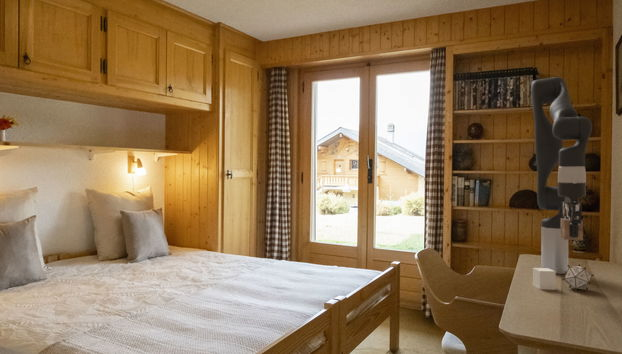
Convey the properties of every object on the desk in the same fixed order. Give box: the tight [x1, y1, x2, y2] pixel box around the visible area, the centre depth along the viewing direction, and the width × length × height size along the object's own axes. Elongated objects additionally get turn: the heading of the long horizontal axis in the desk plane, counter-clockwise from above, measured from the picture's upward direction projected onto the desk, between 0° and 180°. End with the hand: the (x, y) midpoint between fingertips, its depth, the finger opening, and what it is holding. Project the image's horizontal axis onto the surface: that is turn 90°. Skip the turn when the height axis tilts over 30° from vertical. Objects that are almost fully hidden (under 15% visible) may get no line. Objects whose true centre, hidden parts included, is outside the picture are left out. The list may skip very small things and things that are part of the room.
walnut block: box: [561, 218, 584, 241], centre depth 135 cm, size 5×5×6 cm
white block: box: [532, 267, 557, 291], centre depth 144 cm, size 5×5×6 cm
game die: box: [561, 263, 595, 292], centre depth 142 cm, size 9×8×10 cm
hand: (571, 235), depth 135 cm, fingers closed on walnut block, 5 cm apart
